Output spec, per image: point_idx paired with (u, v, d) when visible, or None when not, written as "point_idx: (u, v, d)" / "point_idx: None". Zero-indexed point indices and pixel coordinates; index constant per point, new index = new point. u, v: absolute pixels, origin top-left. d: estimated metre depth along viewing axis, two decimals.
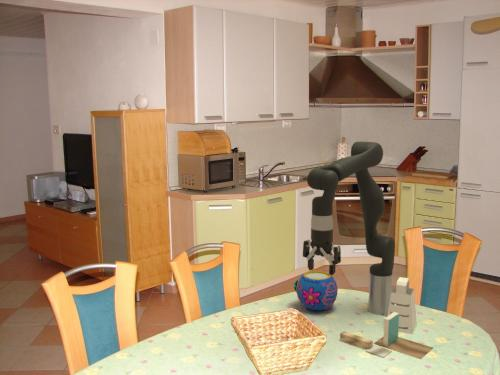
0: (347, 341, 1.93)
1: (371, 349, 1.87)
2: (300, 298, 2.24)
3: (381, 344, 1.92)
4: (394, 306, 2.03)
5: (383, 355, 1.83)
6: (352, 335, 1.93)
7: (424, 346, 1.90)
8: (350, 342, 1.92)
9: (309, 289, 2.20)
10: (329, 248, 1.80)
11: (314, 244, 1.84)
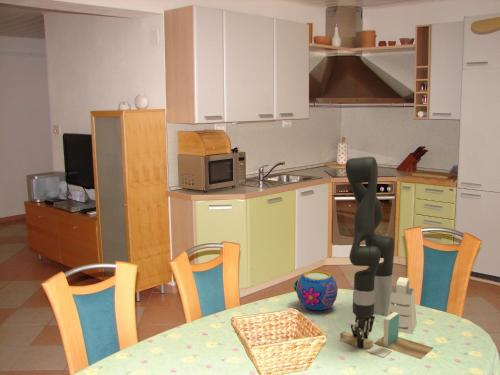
0: (347, 341, 1.93)
1: (371, 349, 1.87)
2: (300, 298, 2.24)
3: (381, 344, 1.92)
4: (394, 306, 2.03)
5: (383, 355, 1.83)
6: (352, 335, 1.93)
7: (424, 346, 1.90)
8: (350, 342, 1.92)
9: (309, 289, 2.20)
10: (370, 317, 1.91)
11: (362, 320, 1.86)
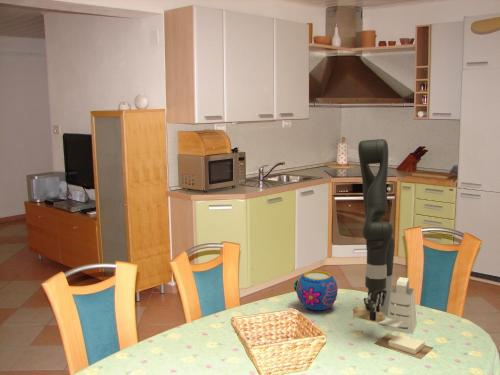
0: (360, 315, 2.00)
1: (383, 321, 1.94)
2: (300, 298, 2.24)
3: (381, 344, 1.92)
4: (394, 306, 2.03)
5: (395, 325, 1.89)
6: (364, 309, 2.00)
7: (424, 346, 1.90)
8: (363, 316, 1.99)
9: (309, 289, 2.20)
10: (382, 291, 1.98)
11: (375, 293, 1.93)
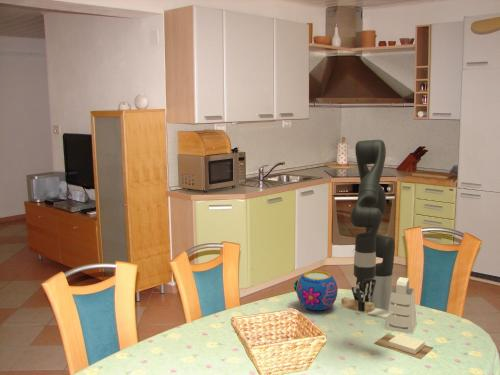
0: (348, 306, 1.91)
1: (373, 311, 1.85)
2: (300, 298, 2.24)
3: (381, 344, 1.92)
4: (394, 306, 2.03)
5: (385, 315, 1.80)
6: (353, 300, 1.91)
7: (424, 346, 1.90)
8: (351, 307, 1.90)
9: (309, 289, 2.20)
10: (371, 280, 1.89)
11: (363, 282, 1.84)
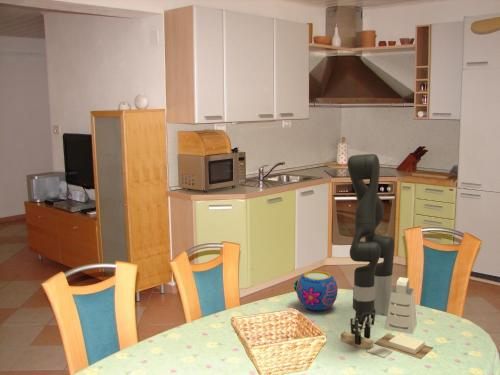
0: (348, 341, 1.93)
1: (372, 349, 1.87)
2: (300, 298, 2.24)
3: (381, 344, 1.92)
4: (394, 306, 2.03)
5: (384, 355, 1.83)
6: (352, 335, 1.93)
7: (424, 346, 1.90)
8: (351, 342, 1.92)
9: (309, 289, 2.20)
10: (370, 312, 1.91)
11: (362, 316, 1.86)
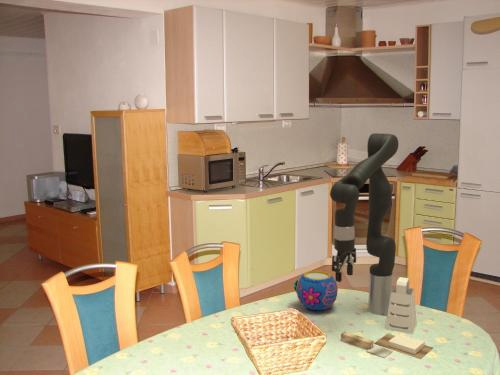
0: (348, 341, 1.93)
1: (372, 349, 1.87)
2: (300, 298, 2.24)
3: (381, 344, 1.92)
4: (394, 306, 2.03)
5: (384, 355, 1.83)
6: (352, 335, 1.93)
7: (424, 346, 1.90)
8: (351, 342, 1.92)
9: (309, 289, 2.20)
10: (351, 251, 2.01)
11: (343, 255, 1.96)
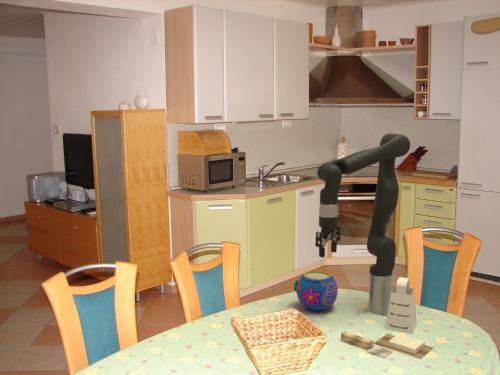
0: (348, 341, 1.93)
1: (372, 349, 1.87)
2: (300, 298, 2.24)
3: (381, 344, 1.92)
4: (394, 306, 2.03)
5: (384, 355, 1.83)
6: (352, 335, 1.93)
7: (424, 346, 1.90)
8: (351, 342, 1.92)
9: (309, 289, 2.20)
10: (335, 229, 2.11)
11: (327, 231, 2.06)
